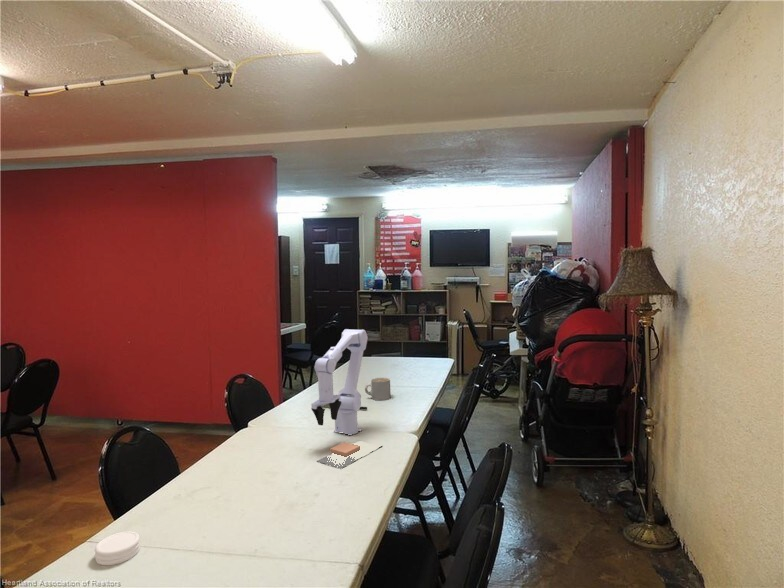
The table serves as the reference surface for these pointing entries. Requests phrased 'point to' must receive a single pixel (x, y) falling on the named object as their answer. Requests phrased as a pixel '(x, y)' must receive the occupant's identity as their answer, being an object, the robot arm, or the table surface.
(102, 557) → the white thick disc
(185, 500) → the table surface
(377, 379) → the coffee mug
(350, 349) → the robot arm
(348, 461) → the rubber mat
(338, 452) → the peach square slab
